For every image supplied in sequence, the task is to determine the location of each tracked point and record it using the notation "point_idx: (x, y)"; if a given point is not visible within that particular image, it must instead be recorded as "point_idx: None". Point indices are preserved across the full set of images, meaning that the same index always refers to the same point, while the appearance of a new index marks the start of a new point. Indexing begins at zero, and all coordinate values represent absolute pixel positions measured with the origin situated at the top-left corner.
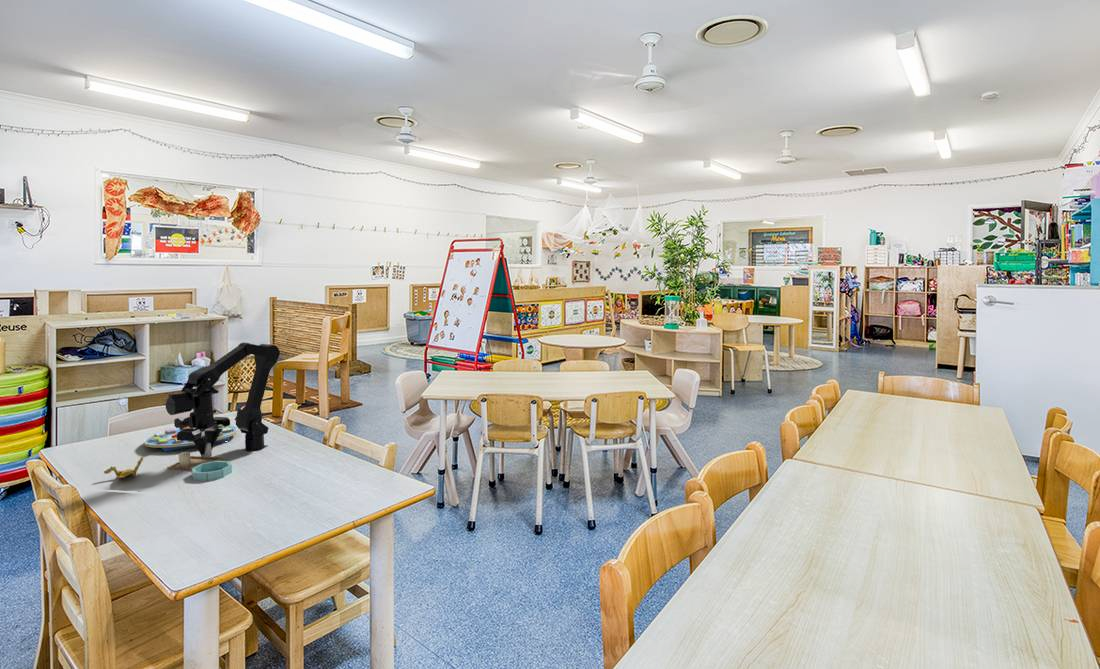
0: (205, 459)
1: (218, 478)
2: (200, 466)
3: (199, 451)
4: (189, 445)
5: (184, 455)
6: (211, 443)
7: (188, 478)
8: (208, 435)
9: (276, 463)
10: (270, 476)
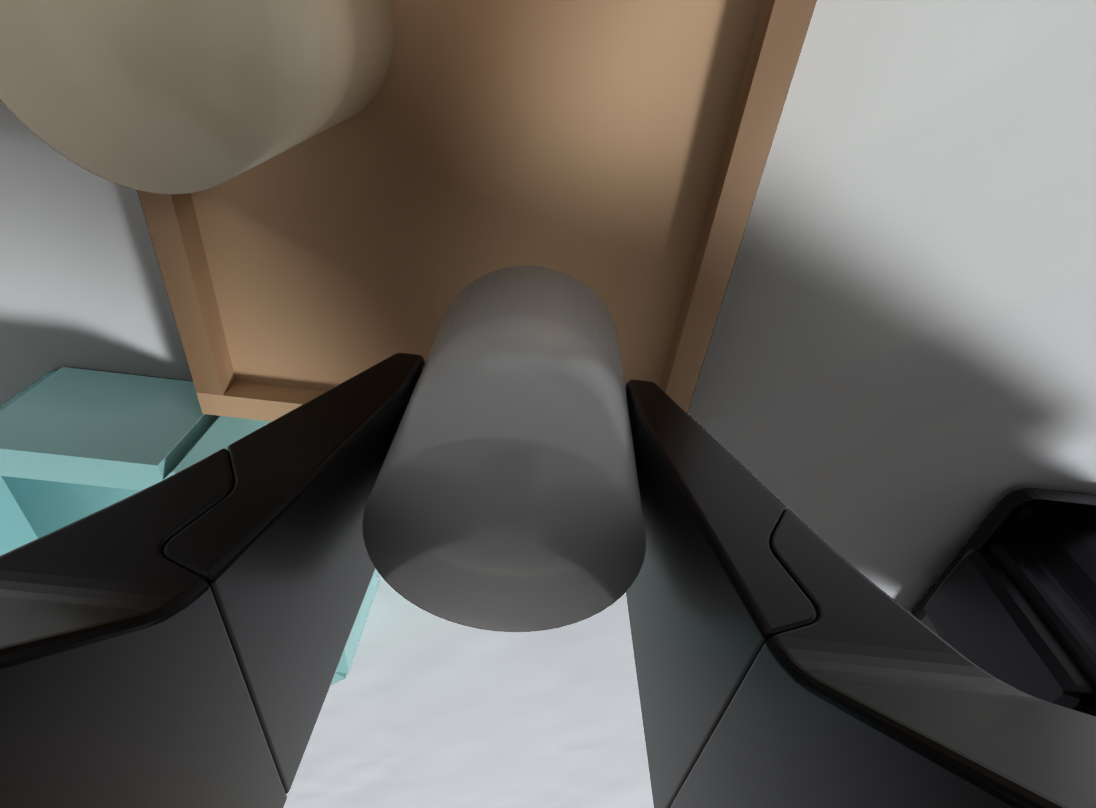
0: (685, 199)
1: None
2: (119, 474)
3: (350, 387)
4: None
5: (42, 119)
6: (637, 576)
7: (14, 337)
8: (740, 760)
9: (570, 767)
10: (330, 789)
